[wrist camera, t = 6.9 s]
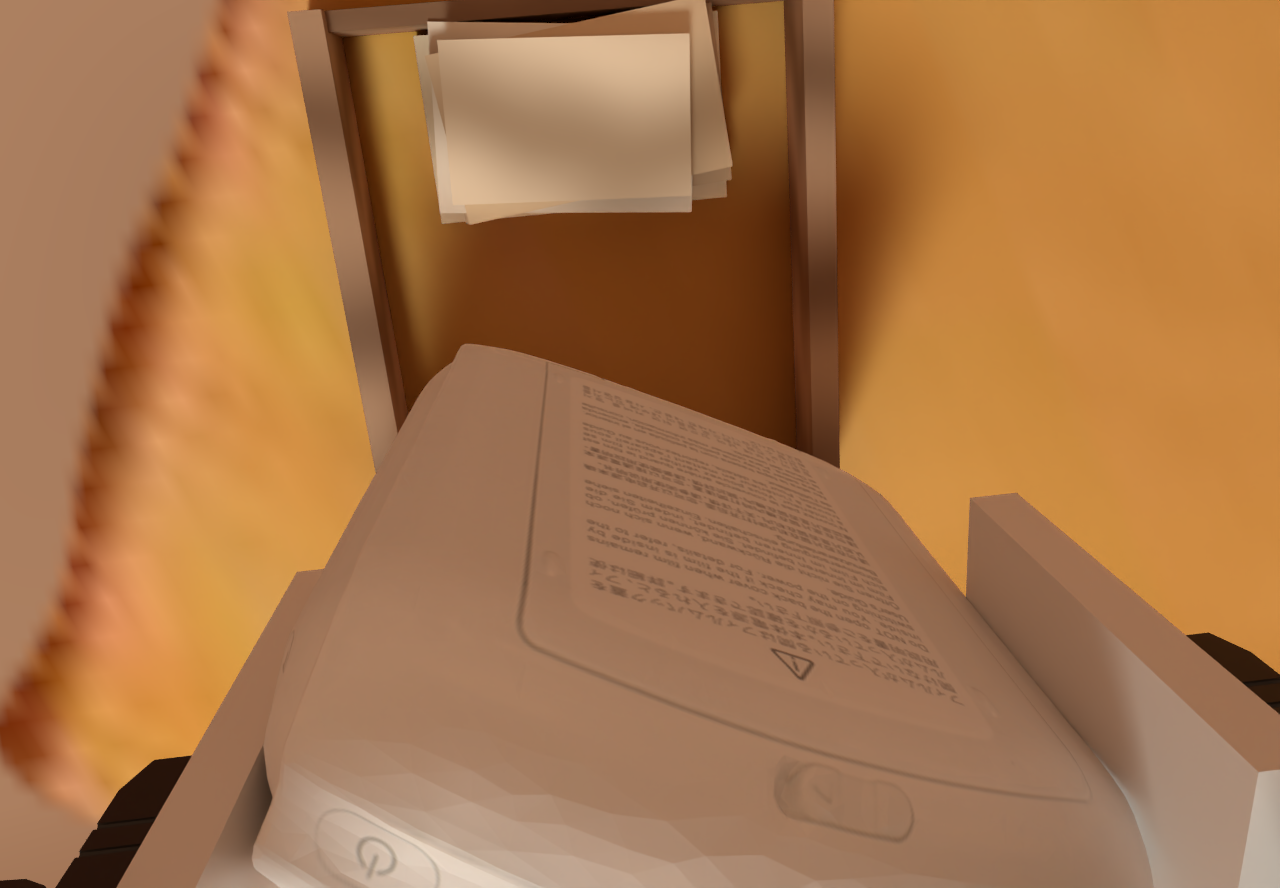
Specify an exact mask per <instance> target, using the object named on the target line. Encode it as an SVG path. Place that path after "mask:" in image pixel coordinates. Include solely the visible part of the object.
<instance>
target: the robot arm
mask: <svg viewBox="0 0 1280 888" xmlns="http://www.w3.org/2000/svg"><path fill="white" fill-rule="evenodd" d="M323 570H324V569H320V570H311V571H302V572H297V573H296V575H295V577H294V578H293V580H292V582H291V584H290V585H289V587H288V589H287V591H286V592H285V594H284V596H283V598H282V599H281V601H280V603H279V605H278V606H277V608H276V610H275V612H274V613H273V615H272V617H271V619H270V620H269V622H268V624H267V626H266V627H265V629H264V631H263V633H262V634H261V636H260V638H259V640H258V641H257V643H256V645H255V646H254V648H253V650H252V652H251V653H250V655H249V657H248V659H247V660H246V662H245V664H244V666H243V667H242V669H241V671H240V673H239V674H238V676H237V678H236V680H235V681H234V683H233V685H232V687H231V688H230V690H229V692H228V694H227V695H226V697H225V699H224V701H223V702H222V704H221V706H220V708H219V709H218V711H217V713H216V715H215V716H214V718H213V720H212V722H211V723H210V725H209V727H208V729H207V730H206V732H205V734H204V736H203V737H202V739H201V741H200V743H199V744H198V746H197V748H196V750H195V751H194V753H193V755H192V756H184V757H176V758H167V759H159V760H154V761H153V762H151V763H150V764H149V765H148V766H147V767H146V768H144V769H143V770H142V771H141V772H140V773H139V774H137V775H136V776H135V777H134V778H133V779H132V780H130V781H129V782H128V783H127V784H126V785H125V786H123V787H122V788H121V789H120V790H119V791H118V792H117V794H116V796H115V797H114V799H113V800H112V802H111V803H110V805H109V806H108V808H107V809H106V811H105V812H104V814H103V816H102V817H101V819H100V820H99V822H98V823H97V824H98V828H97V830H93V831H92V832H91V834H90V836H89V837H88V839H87V840H86V842H85V843H84V845H83V846H82V848H81V850H80V856H79V858H75V859H74V860H73V862H72V863H71V865H70V866H69V868H68V869H67V871H66V873H65V874H64V875H63V877H62V879H61V880H60V882H59V883H58V885H57V886H56V888H280V887H279V886H277V885H276V884H275V883H273V882H272V881H271V880H269V879H268V878H266V877H265V876H264V875H262V874H261V873H260V872H258V871H257V870H256V869H255V868H254V866H253V862H252V853H253V846H254V844H255V841H256V839H257V836H258V834H259V831H260V829H261V826H262V824H263V822H264V819H265V817H266V814H267V812H268V810H269V807H270V805H271V802H272V799H273V797H272V793H271V790H270V787H269V783H268V779H267V772H266V764H265V755H264V747H263V745H264V738H265V732H266V727H267V723H268V719H269V715H270V711H271V707H272V703H273V698H274V693H275V689H276V684H277V679H278V675H279V670H280V666H281V662H282V658H283V655H284V651H285V647H286V644H287V641H288V638H289V636H290V633H291V631H292V629H293V627H294V625H295V623H296V621H297V619H298V617H299V615H300V613H301V611H302V609H303V607H304V605H305V603H306V601H307V600H308V598H309V596H310V594H311V592H312V590H313V588H314V587H315V585H316V583H317V581H318V579H319V577H320V576H321V574H322V572H323ZM966 598H967V599H968V601H969V602H970V603H971V604H972V605H973V607H974V608H975V609H976V611H977V612H978V613H979V614H980V616H981V617H982V618H983V619H984V620H985V622H986V623H987V624H988V625H989V626H990V628H991V629H992V630H993V631H994V633H995V634H996V635H997V636H998V638H999V639H1000V640H1001V641H1002V642H1003V644H1004V645H1005V646H1006V647H1007V648H1008V650H1009V651H1010V652H1011V654H1012V655H1013V656H1014V657H1015V659H1016V660H1017V661H1018V662H1019V663H1020V665H1021V666H1022V667H1023V668H1024V669H1025V671H1026V672H1027V673H1028V674H1029V675H1030V676H1031V678H1032V679H1033V680H1034V681H1035V682H1036V684H1037V685H1038V686H1039V688H1040V689H1041V690H1042V691H1043V692H1044V693H1045V695H1046V696H1047V697H1048V698H1049V699H1050V700H1051V702H1052V703H1053V704H1054V706H1055V707H1056V708H1057V709H1058V711H1059V712H1060V713H1061V714H1062V716H1063V717H1064V718H1065V719H1066V721H1067V722H1068V723H1069V724H1070V725H1071V726H1072V728H1073V729H1074V730H1075V731H1076V732H1077V733H1078V735H1079V736H1080V737H1081V738H1082V739H1083V741H1084V742H1085V743H1086V744H1087V746H1088V747H1089V748H1090V749H1091V750H1092V752H1093V753H1094V754H1095V755H1096V757H1097V758H1098V759H1099V761H1100V762H1101V763H1102V764H1103V766H1104V767H1105V768H1106V770H1107V771H1108V772H1109V774H1110V775H1111V776H1112V778H1113V779H1114V781H1115V782H1116V784H1117V785H1118V786H1119V788H1120V789H1121V791H1122V792H1123V794H1124V795H1125V797H1126V799H1127V801H1128V803H1129V805H1130V807H1131V810H1132V812H1133V814H1134V816H1135V819H1136V822H1137V825H1138V828H1139V831H1140V833H1141V836H1142V839H1143V842H1144V845H1145V848H1146V852H1147V856H1148V860H1149V864H1150V868H1151V873H1152V879H1153V886H1154V888H1280V675H1279V674H1278V673H1277V672H1276V671H1274V670H1273V669H1272V668H1270V667H1269V666H1268V665H1267V664H1265V663H1264V662H1263V661H1262V660H1260V659H1259V658H1258V657H1256V656H1255V655H1254V654H1253V653H1251V652H1249V651H1247V650H1245V649H1243V648H1241V647H1239V646H1236V645H1234V644H1232V643H1230V642H1228V641H1226V640H1223V639H1221V638H1219V637H1217V636H1215V635H1213V634H1210V633H1202V634H1193V635H1185V634H1183V633H1182V632H1181V631H1180V630H1179V629H1177V628H1176V627H1175V626H1174V625H1173V624H1172V623H1170V622H1169V621H1168V620H1167V619H1166V618H1164V617H1163V616H1162V615H1161V614H1160V613H1158V612H1157V611H1156V610H1155V609H1154V608H1153V607H1151V606H1150V605H1149V604H1148V603H1147V602H1145V601H1144V600H1143V599H1142V598H1141V597H1139V596H1138V595H1137V594H1136V593H1135V592H1134V591H1132V590H1131V589H1130V588H1129V587H1128V586H1126V585H1125V584H1124V583H1123V582H1122V581H1120V580H1119V579H1118V578H1117V577H1116V576H1115V575H1113V574H1112V573H1111V572H1110V571H1109V570H1107V569H1106V568H1105V567H1104V566H1103V565H1101V564H1100V563H1099V562H1098V561H1097V560H1096V559H1094V558H1093V557H1092V556H1091V555H1090V554H1088V553H1087V552H1086V551H1085V550H1084V549H1082V548H1081V547H1080V546H1079V545H1078V544H1077V543H1075V542H1074V541H1073V540H1072V539H1071V538H1069V537H1068V536H1067V535H1066V534H1065V533H1063V532H1062V531H1061V530H1060V529H1059V528H1057V527H1056V526H1055V525H1054V524H1053V523H1052V522H1050V521H1049V520H1048V519H1047V518H1046V517H1044V516H1043V515H1042V514H1041V513H1040V512H1038V511H1037V510H1036V509H1035V508H1034V507H1033V506H1031V505H1030V504H1029V503H1028V502H1027V501H1025V500H1024V499H1023V498H1022V497H1021V496H1019V495H1018V494H1017V493H1011V494H1002V495H993V496H984V497H975V498H970V511H969V536H968V560H967V585H966ZM0 888H46V887H45V886H44V885H41V884H38V883H36V882H33V881H30V880H27V879H19V880H4V881H0Z"/></svg>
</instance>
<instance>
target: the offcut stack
mask: <svg viewBox="0 0 1280 888" xmlns="http://www.w3.org/2000/svg"><path fill="white" fill-rule="evenodd" d="M427 25H428V35H419V36H413V37H414V44H415V51H416V57H417V64H418V70H419V77H420V84H421V90H422V97H423V103H424V110H425V116H426V123H427V130H428V136H429V143H430V149H431V156H432V162H433V169H434V176H435V182H436V189H437V195H438V202H439V209H440V215H441V222H442V224H447V223H457V222H466V224H470V225H472V224H476V223H481V222H485V221H490V220H494V219H500V218H510V217H521V216H531V215H542V214H552V213H615V212H692V200H701V199H711V198H722V197H727V188H726V181H727V180H732V175H731V166H733V164H732V158H731V152H730V146H729V140H728V134H727V128H726V122H725V115H724V107H723V98H722V89H721V70H720V50H719V30H718V11H712V3H711V2H709V3H706V2H705V0H675V1H671V2H666V3H662V4H657V5H652V6H648V7H643V8H639V9H634V10H630V11H625V12H621V13H616V14H612V15H607V16H603V17H598V18H594V19H589V20H584V21H580V22H575V23H501V22H427Z"/></svg>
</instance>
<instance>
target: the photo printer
mask: <svg viewBox="0 0 1280 888" xmlns="http://www.w3.org/2000/svg"><path fill="white" fill-rule="evenodd" d="M263 747H264V755H265V764H266V772H267V779H268V783H269V787H270V790H271V793H272V797H273V799H272V802H271V805H270V807H269V810H268V812H267V814H266V817H265V819H264V822H263V824H262V826H261V829H260V831H259V834H258V836H257V839H256V841H255V844H254V846H253V853H252V862H253V866H254V868H255V869H256V870H257V871H258V872H260V873H261V874H262V875H264V876H265V877H266V878H268V879H269V880H271V881H272V882H273V883H275V884H276V885H277V886H279V887H280V888H1154V886H1153V879H1152V873H1151V868H1150V864H1149V860H1148V856H1147V852H1146V848H1145V845H1144V842H1143V839H1142V836H1141V833H1140V831H1139V828H1138V825H1137V822H1136V819H1135V816H1134V814H1133V812H1132V810H1131V807H1130V805H1129V803H1128V801H1127V799H1126V797H1125V795H1124V794H1123V792H1122V791H1121V789H1120V788H1119V786H1118V785H1117V784H1116V782H1115V781H1114V779H1113V778H1112V776H1111V775H1110V774H1109V772H1108V771H1107V770H1106V768H1105V767H1104V766H1103V764H1102V763H1101V762H1100V761H1099V759H1098V758H1097V757H1096V755H1095V754H1094V753H1093V752H1092V750H1091V749H1090V748H1089V747H1088V746H1087V744H1086V743H1085V742H1084V741H1083V739H1082V738H1081V737H1080V736H1079V735H1078V733H1077V732H1076V731H1075V730H1074V729H1073V728H1072V726H1071V725H1070V724H1069V723H1068V722H1067V721H1066V719H1065V718H1064V717H1063V716H1062V714H1061V713H1060V712H1059V711H1058V709H1057V708H1056V707H1055V706H1054V704H1053V703H1052V702H1051V700H1050V699H1049V698H1048V697H1047V696H1046V695H1045V693H1044V692H1043V691H1042V690H1041V689H1040V688H1039V686H1038V685H1037V684H1036V682H1035V681H1034V680H1033V679H1032V678H1031V676H1030V675H1029V674H1028V673H1027V672H1026V671H1025V669H1024V668H1023V667H1022V666H1021V665H1020V663H1019V662H1018V661H1017V660H1016V659H1015V657H1014V656H1013V655H1012V654H1011V652H1010V651H1009V650H1008V648H1007V647H1006V646H1005V645H1004V644H1003V642H1002V641H1001V640H1000V639H999V638H998V636H997V635H996V634H995V633H994V631H993V630H992V629H991V628H990V626H989V625H988V624H987V623H986V622H985V620H984V619H983V618H982V617H981V616H980V614H979V613H978V612H977V611H976V609H975V608H974V607H973V605H972V604H971V603H970V602H969V601H968V599H967V598H966V597H965V596H964V594H963V593H962V592H961V591H960V590H959V588H958V587H957V586H956V585H955V584H954V582H953V581H952V580H951V579H950V577H949V576H948V575H947V574H946V572H945V571H944V570H943V569H942V568H941V566H940V565H939V564H938V563H937V561H936V560H935V559H934V558H933V557H932V556H931V554H930V553H929V552H928V550H927V549H926V548H925V547H924V545H923V544H922V543H921V542H920V540H919V539H918V538H917V536H916V535H915V534H914V533H913V532H912V530H911V529H910V527H909V526H908V525H907V524H906V523H905V522H904V520H903V519H902V517H901V516H900V515H899V514H898V513H897V511H896V510H895V509H894V508H893V507H892V506H891V504H890V503H889V502H888V501H887V500H886V499H885V498H884V497H883V496H882V495H881V494H879V493H878V492H876V491H875V490H874V489H872V488H871V487H869V486H868V485H867V484H865V483H863V482H862V481H860V480H859V479H857V478H855V477H854V476H852V475H850V474H849V473H847V472H845V471H843V470H841V469H839V468H837V467H835V466H833V465H831V464H829V463H827V462H825V461H823V460H821V459H818V458H816V457H814V456H811V455H809V454H807V453H804V452H801V451H799V450H796V449H794V448H792V447H789V446H787V445H784V444H781V443H779V442H777V441H776V440H773V439H769V438H765V437H763V436H760V435H758V434H755V433H753V432H750V431H747V430H745V429H742V428H739V427H737V426H734V425H731V424H729V423H726V422H723V421H721V420H718V419H715V418H712V417H710V416H707V415H704V414H702V413H699V412H696V411H694V410H691V409H688V408H686V407H683V406H680V405H677V404H674V403H672V402H669V401H666V400H663V399H660V398H657V397H654V396H651V395H649V394H646V393H643V392H640V391H638V390H635V389H633V388H630V387H627V386H623V385H620V384H617V383H615V382H612V381H609V380H606V379H603V378H600V377H598V376H595V375H593V374H590V373H587V372H583V371H580V370H577V369H574V368H571V367H568V366H565V365H562V364H558V363H555V362H552V361H549V360H546V359H542V358H539V357H535V356H532V355H528V354H525V353H521V352H517V351H513V350H509V349H503V348H497V347H491V346H485V345H478V344H464V345H462V346H461V347H460V349H459V350H458V352H457V354H456V356H455V358H454V360H453V362H452V363H450V364H449V365H447V366H446V367H445V368H443V369H442V370H441V371H440V372H438V373H437V374H436V375H435V376H434V377H433V378H432V379H431V380H430V381H429V382H428V384H427V385H426V386H425V387H424V389H423V390H422V392H421V393H420V395H419V397H418V398H417V400H416V402H415V403H414V405H413V407H412V409H411V411H410V413H409V414H408V416H407V418H406V420H405V422H404V423H403V425H402V427H401V429H400V431H399V432H398V434H397V436H396V438H395V440H394V441H393V443H392V445H391V447H390V449H389V451H388V453H387V454H386V456H385V458H384V460H383V462H382V464H381V466H380V467H379V469H378V471H377V473H376V474H375V476H374V478H373V480H372V481H371V483H370V486H369V488H368V489H367V491H366V493H365V494H364V496H363V498H362V500H361V501H360V503H359V505H358V507H357V509H356V510H355V512H354V514H353V516H352V518H351V520H350V522H349V524H348V525H347V527H346V529H345V531H344V533H343V535H342V537H341V538H340V540H339V542H338V544H337V546H336V548H335V550H334V551H333V553H332V555H331V557H330V559H329V561H328V563H327V564H326V566H325V568H324V570H323V572H322V574H321V576H320V577H319V579H318V581H317V583H316V585H315V587H314V588H313V590H312V592H311V594H310V596H309V598H308V600H307V601H306V603H305V605H304V607H303V609H302V611H301V613H300V615H299V617H298V619H297V621H296V623H295V625H294V627H293V629H292V631H291V633H290V636H289V638H288V641H287V644H286V647H285V651H284V655H283V658H282V662H281V666H280V670H279V675H278V679H277V684H276V689H275V693H274V698H273V703H272V707H271V711H270V715H269V719H268V723H267V727H266V732H265V738H264V745H263Z"/></svg>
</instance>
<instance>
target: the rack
mask: <svg viewBox="0 0 1280 888" xmlns="http://www.w3.org/2000/svg"><path fill="white" fill-rule="evenodd" d="M671 1H675V0H452V1H440V2H427V3H415V4H403V5H390V6H378V7H366V8H354V9H341V10H329V11H324V10H322V9H316V10H304V11H291V12H287V13H288V19H289V24H290V29H291V34H292V39H293V45H294V50H295V55H296V60H297V65H298V71H299V76H300V81H301V86H302V91H303V97H304V102H305V107H306V112H307V117H308V123H309V128H310V133H311V138H312V143H313V149H314V154H315V159H316V164H317V169H318V175H319V180H320V185H321V190H322V195H323V201H324V206H325V211H326V216H327V221H328V227H329V232H330V237H331V242H332V247H333V253H334V258H335V263H336V268H337V273H338V279H339V284H340V289H341V294H342V299H343V305H344V310H345V315H346V320H347V325H348V331H349V336H350V341H351V346H352V351H353V357H354V362H355V367H356V372H357V377H358V383H359V388H360V393H361V398H362V403H363V409H364V414H365V419H366V424H367V429H368V435H369V440H370V445H371V450H372V455H373V461H374V466H375V471H376V473H377V471H378V469H379V467H380V466H381V464H382V462H383V460H384V458H385V456H386V454H387V453H388V451H389V449H390V447H391V445H392V443H393V441H394V440H395V438H396V436H397V434H398V432H399V431H400V429H401V427H402V425H403V423H404V422H405V420H406V418H407V416H408V410H407V404H406V399H405V393H404V387H403V381H402V376H401V370H400V364H399V359H398V353H397V347H396V342H395V336H394V330H393V325H392V319H391V313H390V307H389V302H388V296H387V290H386V285H385V279H384V273H383V268H382V262H381V256H380V251H379V245H378V239H377V233H376V228H375V222H374V216H373V211H372V205H371V199H370V194H369V188H368V182H367V177H366V171H365V165H364V159H363V154H362V148H361V142H360V137H359V131H358V125H357V120H356V114H355V108H354V103H353V97H352V91H351V85H350V80H349V74H348V68H347V63H346V57H345V51H344V46H343V40H342V37H351V36H363V35H375V34H387V33H399V32H412V31H424V30H428V25H427V22H501V23H520V22H532V21H544V20H556V19H568V18H580V17H592V16H604V15H612V14H616V13H621V12H625V11H630V10H634V9H639V8H643V7H648V6H652V5H657V4H662V3H666V2H671ZM773 1H784V25H785V59H786V94H787V129H788V164H789V198H790V233H791V268H792V303H793V337H794V372H795V407H796V442H797V450H799V451H801V452H804V453H807V454H809V455H811V456H814V457H816V458H818V459H821V460H823V461H825V462H827V463H829V464H831V465H833V466H835V467H837V468H839V469H840V458H839V377H838V296H837V215H836V134H835V53H834V0H705V2H706V3H709V2H711V3H712V6H724V5H737V4H749V3H761V2H773Z"/></svg>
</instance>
